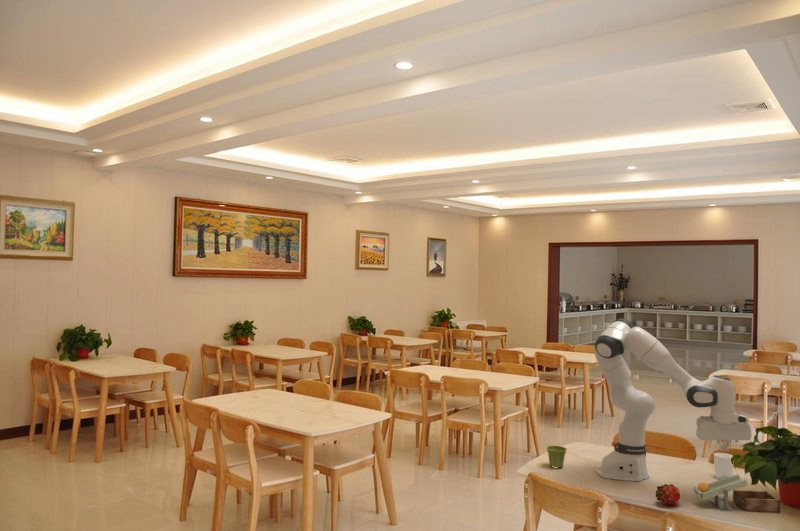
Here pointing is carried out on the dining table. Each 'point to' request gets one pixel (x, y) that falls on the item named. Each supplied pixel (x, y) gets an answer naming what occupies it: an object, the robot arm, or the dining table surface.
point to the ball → (703, 487)
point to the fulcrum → (720, 503)
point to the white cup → (723, 464)
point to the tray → (756, 501)
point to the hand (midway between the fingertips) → (723, 450)
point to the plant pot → (556, 455)
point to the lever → (721, 486)
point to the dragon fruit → (668, 494)
